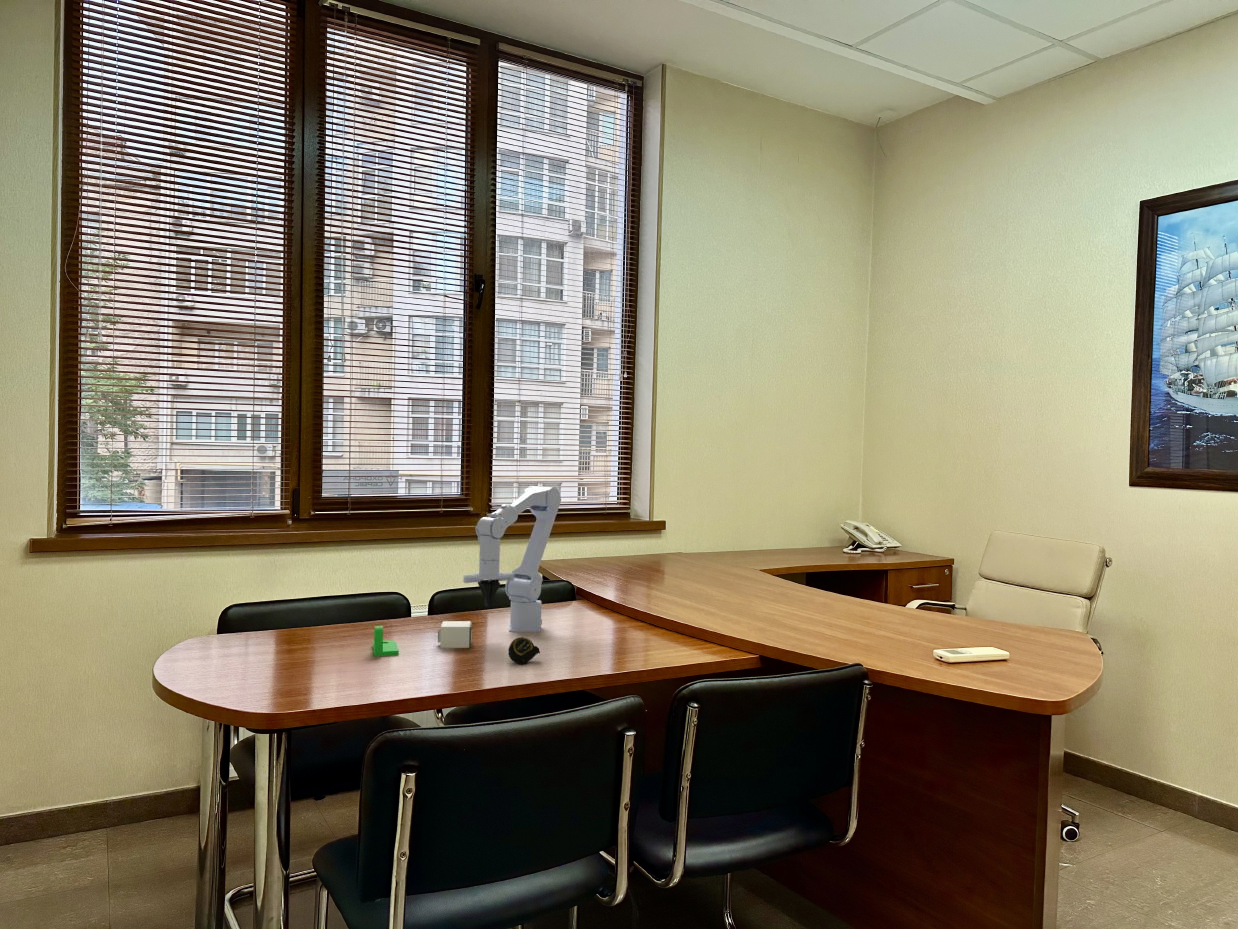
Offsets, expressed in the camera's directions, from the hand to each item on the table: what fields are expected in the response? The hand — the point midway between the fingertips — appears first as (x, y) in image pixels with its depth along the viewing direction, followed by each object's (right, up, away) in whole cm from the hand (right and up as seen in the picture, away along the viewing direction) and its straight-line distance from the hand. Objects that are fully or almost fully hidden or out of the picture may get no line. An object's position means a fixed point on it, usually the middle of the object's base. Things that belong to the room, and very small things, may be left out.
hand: (488, 606), depth 247 cm
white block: (-8, -10, -9) cm, 15 cm away
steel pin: (-8, -8, -9) cm, 15 cm away
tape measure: (+13, -11, -26) cm, 31 cm away
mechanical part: (-25, -10, -17) cm, 32 cm away
